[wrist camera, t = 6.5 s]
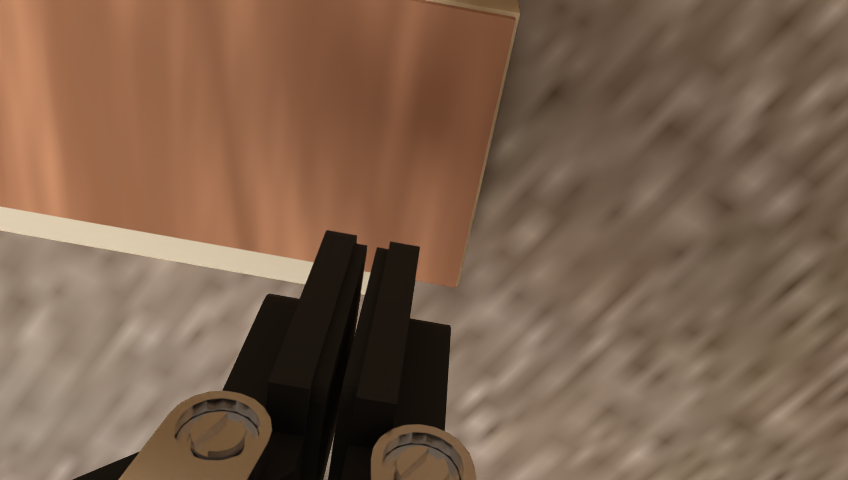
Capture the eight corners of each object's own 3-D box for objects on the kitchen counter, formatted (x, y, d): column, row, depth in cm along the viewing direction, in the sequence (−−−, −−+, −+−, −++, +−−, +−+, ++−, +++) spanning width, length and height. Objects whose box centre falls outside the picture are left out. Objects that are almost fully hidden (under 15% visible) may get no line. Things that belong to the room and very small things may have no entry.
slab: (520, 16, 17) (-69, -93, 17) (458, 290, 21) (-18, 206, 21) (516, -5, 19) (-5, -102, 19) (460, 247, 23) (30, 170, 23)
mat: (470, -122, 18) (469, -121, 18) (398, 290, 25) (396, 300, 24) (-233, -254, 18) (-254, -256, 18) (-119, 198, 25) (-131, 206, 24)
